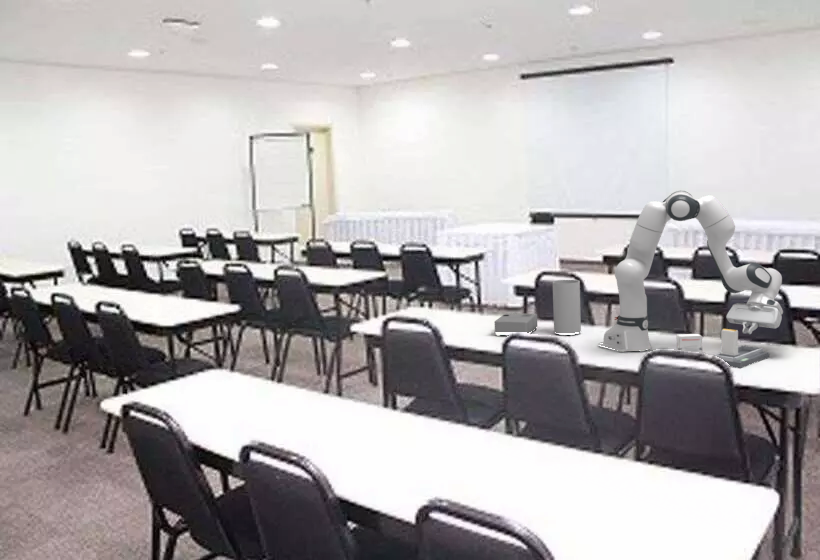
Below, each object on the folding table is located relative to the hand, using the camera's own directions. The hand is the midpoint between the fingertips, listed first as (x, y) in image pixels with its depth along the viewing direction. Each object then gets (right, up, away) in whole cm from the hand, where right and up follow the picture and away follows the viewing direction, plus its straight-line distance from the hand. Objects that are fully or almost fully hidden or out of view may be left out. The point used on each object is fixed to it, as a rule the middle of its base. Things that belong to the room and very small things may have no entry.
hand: (746, 333), depth 290 cm
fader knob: (-10, -9, -7) cm, 15 cm away
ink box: (-25, -12, -6) cm, 28 cm away
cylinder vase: (-57, -5, +63) cm, 85 cm away
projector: (-80, -5, +72) cm, 108 cm away
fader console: (-4, -10, -2) cm, 11 cm away
